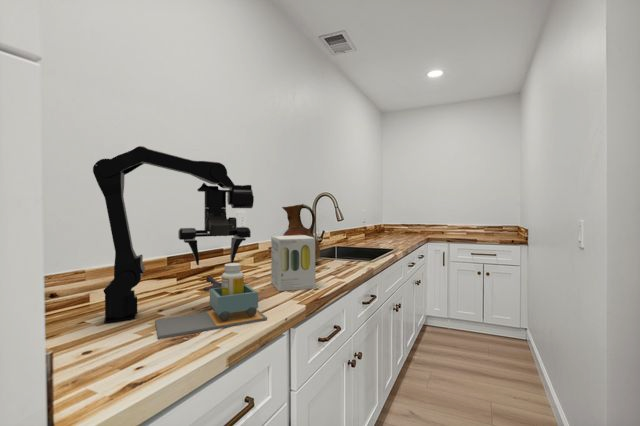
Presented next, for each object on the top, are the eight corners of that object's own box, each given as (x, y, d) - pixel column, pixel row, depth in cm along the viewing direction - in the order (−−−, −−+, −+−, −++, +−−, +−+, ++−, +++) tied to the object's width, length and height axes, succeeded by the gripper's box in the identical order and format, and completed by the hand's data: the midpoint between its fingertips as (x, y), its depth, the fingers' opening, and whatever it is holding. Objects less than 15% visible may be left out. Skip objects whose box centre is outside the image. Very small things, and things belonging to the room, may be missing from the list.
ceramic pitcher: (279, 261, 171) (279, 204, 170) (318, 260, 173) (317, 204, 173) (279, 268, 151) (278, 203, 151) (322, 267, 153) (322, 203, 153)
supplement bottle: (219, 305, 79) (219, 266, 79) (223, 299, 85) (223, 262, 85) (242, 305, 80) (242, 265, 80) (245, 299, 85) (244, 262, 85)
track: (158, 339, 69) (158, 335, 69) (155, 322, 79) (155, 319, 79) (267, 320, 80) (267, 317, 80) (252, 307, 91) (252, 304, 91)
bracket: (225, 280, 130) (225, 272, 130) (244, 286, 119) (244, 278, 119) (188, 286, 120) (188, 278, 120) (205, 293, 109) (205, 285, 109)
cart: (217, 322, 76) (217, 297, 76) (209, 311, 84) (209, 288, 84) (258, 315, 80) (257, 292, 80) (246, 305, 89) (246, 284, 89)
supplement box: (278, 291, 108) (277, 238, 108) (270, 283, 121) (270, 235, 120) (316, 288, 112) (316, 237, 112) (305, 280, 125) (305, 234, 125)
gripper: (181, 207, 80) (181, 271, 80) (256, 208, 89) (255, 265, 89) (178, 208, 90) (178, 264, 90) (245, 208, 99) (245, 260, 99)
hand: (215, 263), depth 92 cm, fingers open, 9 cm apart
